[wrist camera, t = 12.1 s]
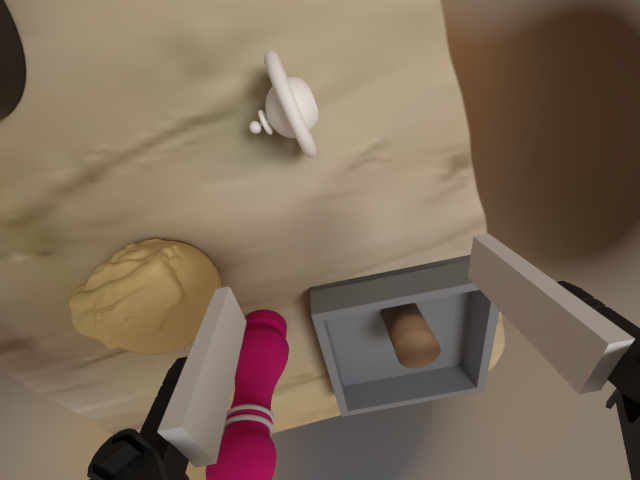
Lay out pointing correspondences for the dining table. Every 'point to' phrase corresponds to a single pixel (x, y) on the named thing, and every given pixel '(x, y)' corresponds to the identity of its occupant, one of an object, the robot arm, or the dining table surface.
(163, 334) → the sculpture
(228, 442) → the pepper mill
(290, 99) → the ring around a ball
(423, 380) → the tray
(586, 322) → the robot arm
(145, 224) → the dining table surface
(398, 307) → the walnut cylinder
